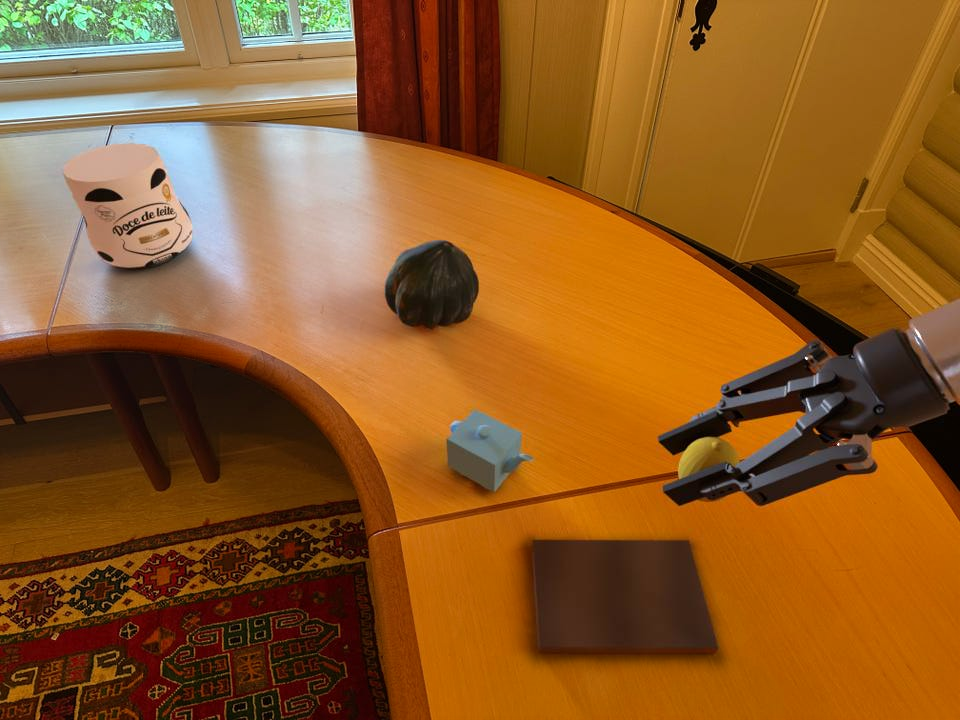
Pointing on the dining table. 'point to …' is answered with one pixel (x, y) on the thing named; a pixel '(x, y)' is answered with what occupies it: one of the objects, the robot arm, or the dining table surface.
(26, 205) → the dining table surface
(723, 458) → the lemon
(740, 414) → the robot arm
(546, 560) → the cutting board
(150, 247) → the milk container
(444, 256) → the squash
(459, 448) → the knobbed blue-grey cube
